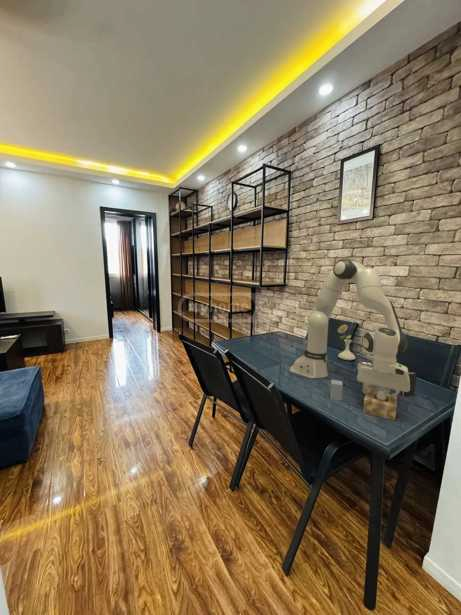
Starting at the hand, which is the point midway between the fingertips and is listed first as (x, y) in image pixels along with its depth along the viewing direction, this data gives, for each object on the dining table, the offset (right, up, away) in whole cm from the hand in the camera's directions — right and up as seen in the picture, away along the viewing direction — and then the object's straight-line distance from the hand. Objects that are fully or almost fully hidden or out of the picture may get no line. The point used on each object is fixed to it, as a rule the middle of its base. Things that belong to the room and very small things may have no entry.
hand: (381, 395), depth 114 cm
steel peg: (0, -7, +1) cm, 7 cm away
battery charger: (+23, -5, +17) cm, 29 cm away
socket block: (0, -7, +1) cm, 7 cm away
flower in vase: (+15, +2, +69) cm, 70 cm away
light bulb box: (+6, -5, +16) cm, 18 cm away
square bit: (-15, -5, +12) cm, 20 cm away
